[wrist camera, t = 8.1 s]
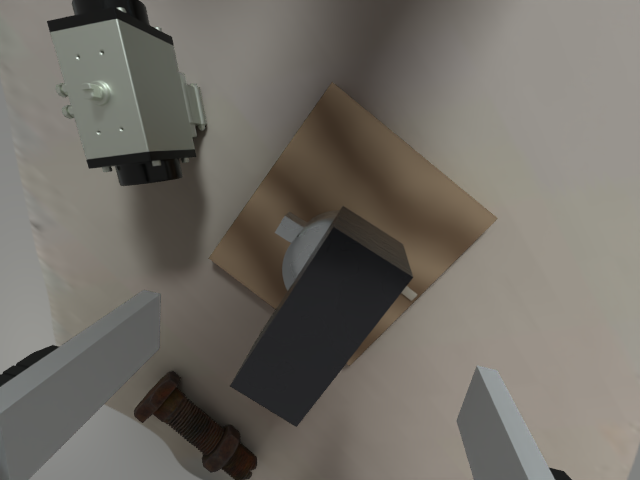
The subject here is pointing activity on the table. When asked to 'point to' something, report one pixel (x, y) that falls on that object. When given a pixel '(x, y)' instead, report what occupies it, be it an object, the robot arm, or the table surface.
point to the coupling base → (353, 203)
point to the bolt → (197, 428)
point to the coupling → (322, 308)
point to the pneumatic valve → (126, 91)
